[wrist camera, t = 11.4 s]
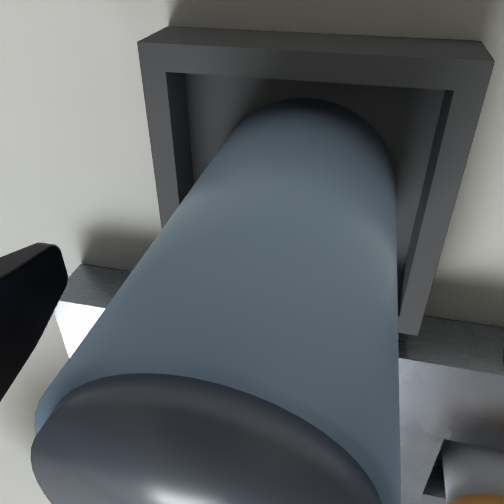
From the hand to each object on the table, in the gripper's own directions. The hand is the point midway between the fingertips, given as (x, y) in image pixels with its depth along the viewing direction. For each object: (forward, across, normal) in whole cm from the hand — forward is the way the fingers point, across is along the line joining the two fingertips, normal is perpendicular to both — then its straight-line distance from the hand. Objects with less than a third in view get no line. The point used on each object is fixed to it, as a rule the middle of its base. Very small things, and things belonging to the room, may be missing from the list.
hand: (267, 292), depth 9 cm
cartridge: (+5, 0, 0) cm, 5 cm away
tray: (+5, 0, 0) cm, 5 cm away
